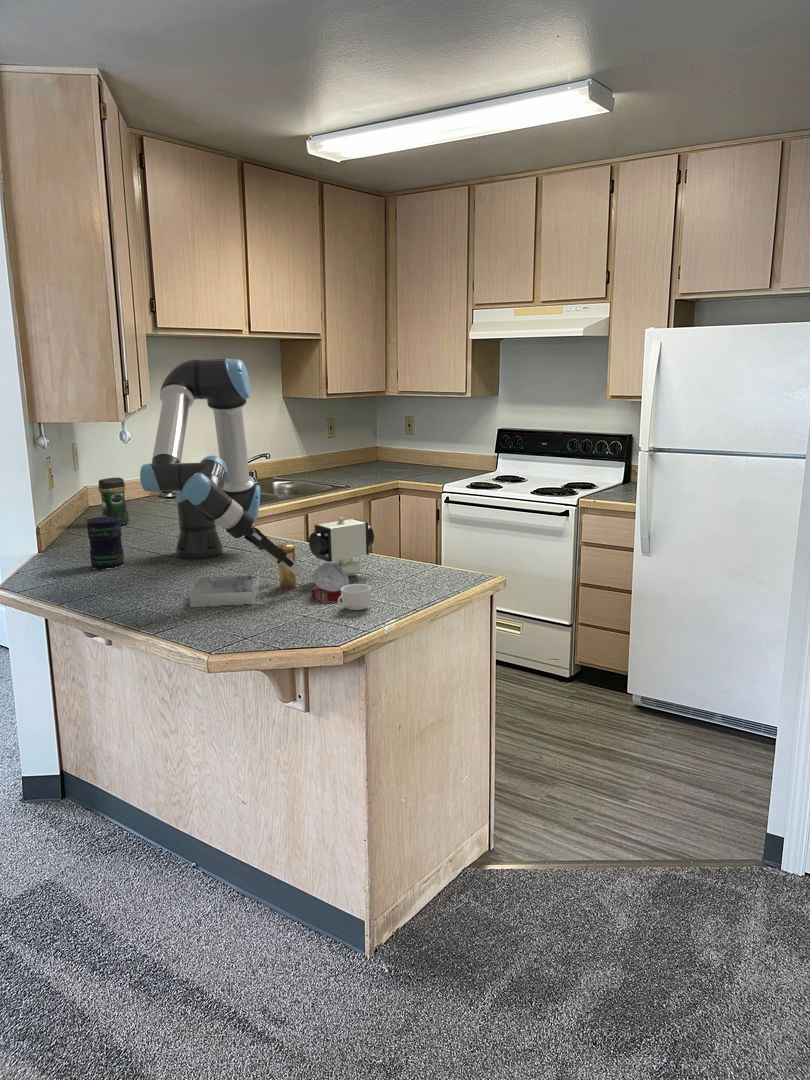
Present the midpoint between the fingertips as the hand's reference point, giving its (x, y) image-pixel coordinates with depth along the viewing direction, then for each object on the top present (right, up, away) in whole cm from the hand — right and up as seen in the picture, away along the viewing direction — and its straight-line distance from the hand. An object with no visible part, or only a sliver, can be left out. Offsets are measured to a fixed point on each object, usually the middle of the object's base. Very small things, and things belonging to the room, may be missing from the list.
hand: (290, 566), depth 222 cm
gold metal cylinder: (-1, -6, +1) cm, 6 cm away
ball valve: (+14, -4, +10) cm, 17 cm away
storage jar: (-61, -1, +28) cm, 67 cm away
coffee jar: (-82, +13, +92) cm, 124 cm away
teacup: (+19, -10, -20) cm, 29 cm away
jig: (-16, -8, -8) cm, 20 cm away
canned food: (+12, -8, -9) cm, 17 cm away
